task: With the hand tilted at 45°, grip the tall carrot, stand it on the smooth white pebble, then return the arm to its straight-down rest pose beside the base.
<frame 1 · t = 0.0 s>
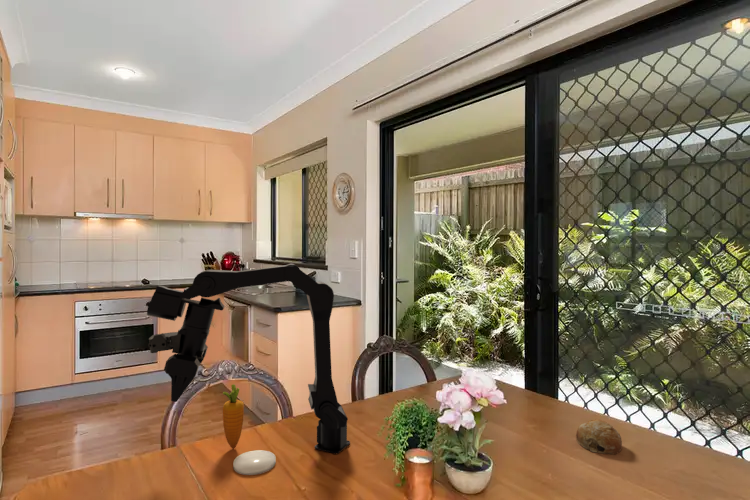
hand: (177, 394, 97), 15 cm above the table, tool pointing down, fingers open, 9 cm apart
bread roll: (597, 446, 109), on the table
carrot: (233, 449, 105), on the table
smooth white pebble: (254, 464, 98), on the table
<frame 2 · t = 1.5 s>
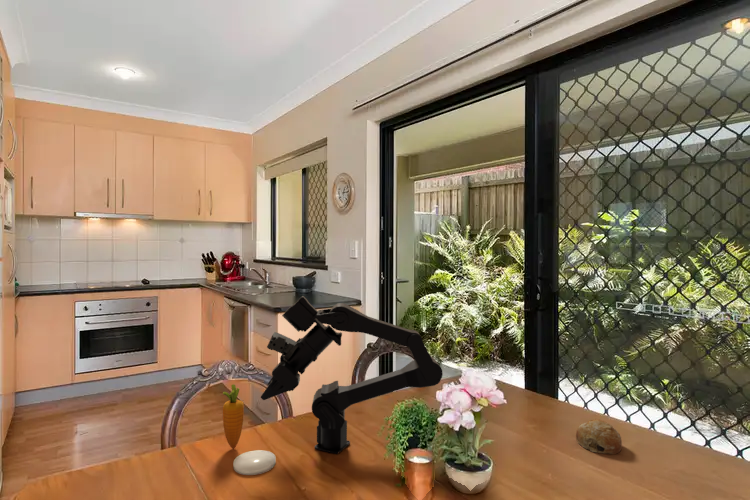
hand: (265, 391, 105), 14 cm above the table, tool tilted 45°, fingers open, 9 cm apart
nothing on the table moved.
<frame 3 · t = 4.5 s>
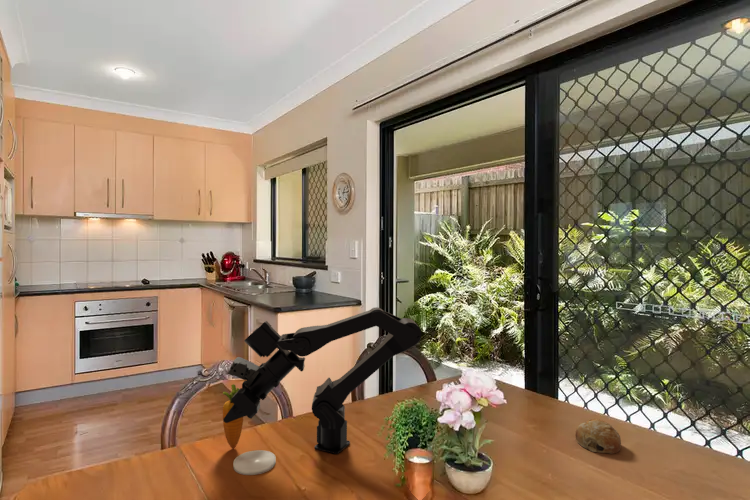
hand: (227, 417, 105), 8 cm above the table, tool tilted 45°, fingers closed on carrot, 5 cm apart
carrot: (233, 449, 105), on the table, touching gripper
everything else where it was.
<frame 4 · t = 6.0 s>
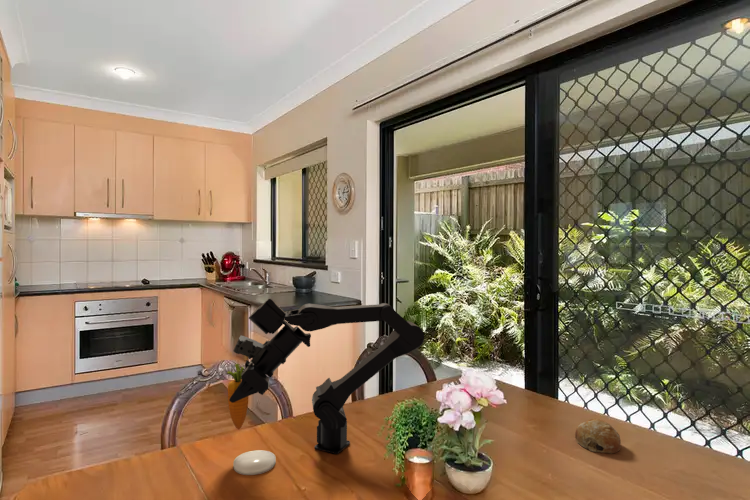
hand: (232, 397, 102), 13 cm above the table, tool tilted 45°, fingers closed on carrot, 5 cm apart
carrot: (238, 430, 102), point 5 cm above the table, touching gripper
everything else where it was.
when the fingers open (9 cm above the table, at t = 7.9 s): carrot stays where it is, resting on smooth white pebble.
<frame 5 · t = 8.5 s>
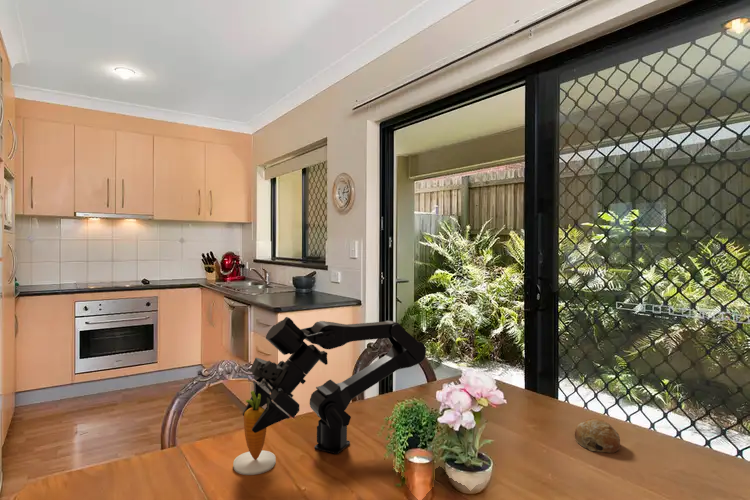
hand: (248, 423, 97), 9 cm above the table, tool tilted 45°, fingers open, 9 cm apart
carrot: (255, 460, 98), point 1 cm above the table, touching smooth white pebble
everything else where it was.
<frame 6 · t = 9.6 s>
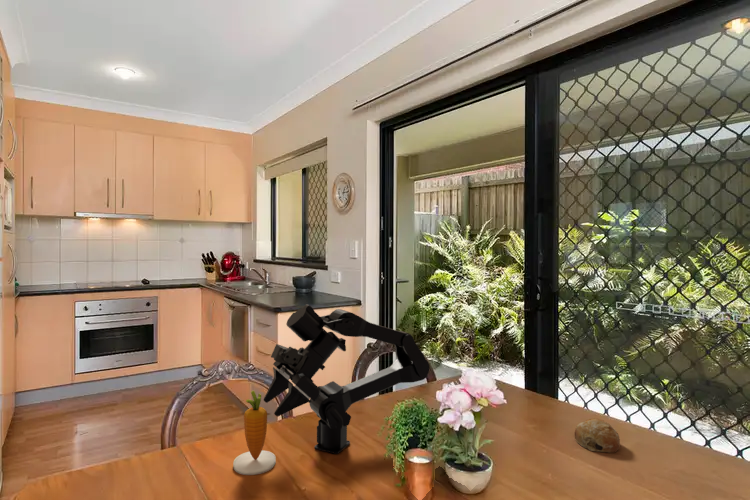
hand: (270, 408, 99), 12 cm above the table, tool tilted 45°, fingers open, 9 cm apart
nothing on the table moved.
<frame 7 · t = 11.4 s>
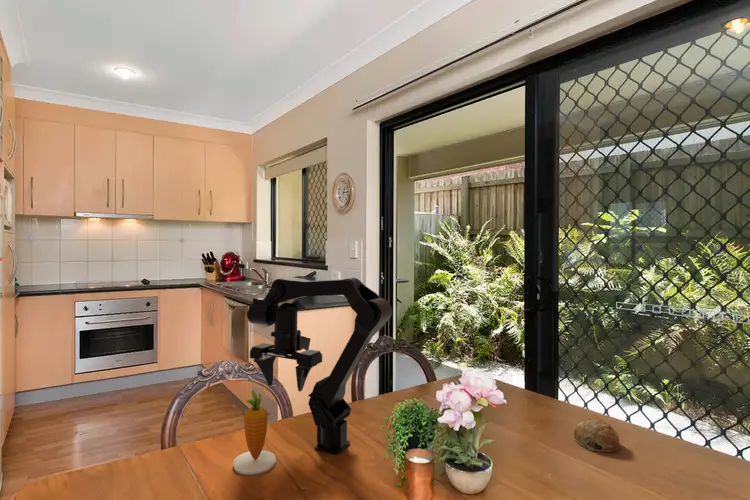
hand: (285, 388, 112), 12 cm above the table, tool pointing down, fingers open, 9 cm apart
nothing on the table moved.
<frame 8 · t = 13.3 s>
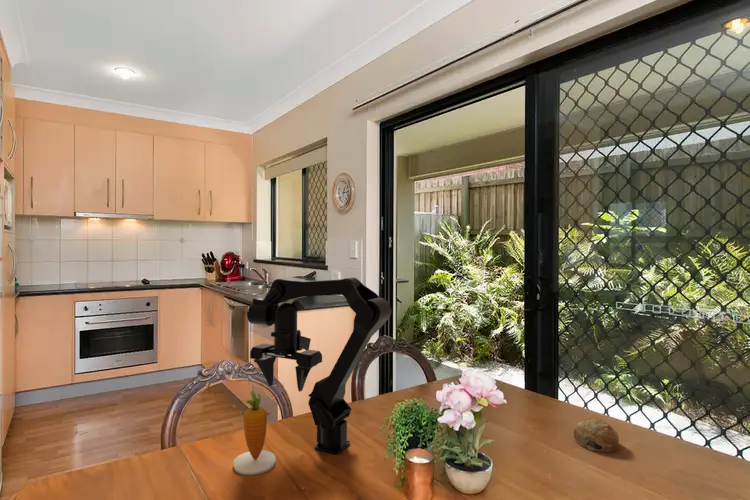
hand: (285, 388, 112), 12 cm above the table, tool pointing down, fingers open, 9 cm apart
nothing on the table moved.
at the end: carrot 0.2 cm off-centre on the smooth white pebble, point 0.8 cm above the smooth white pebble's base; carrot tilted 1°; the gripper is holding nothing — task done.
